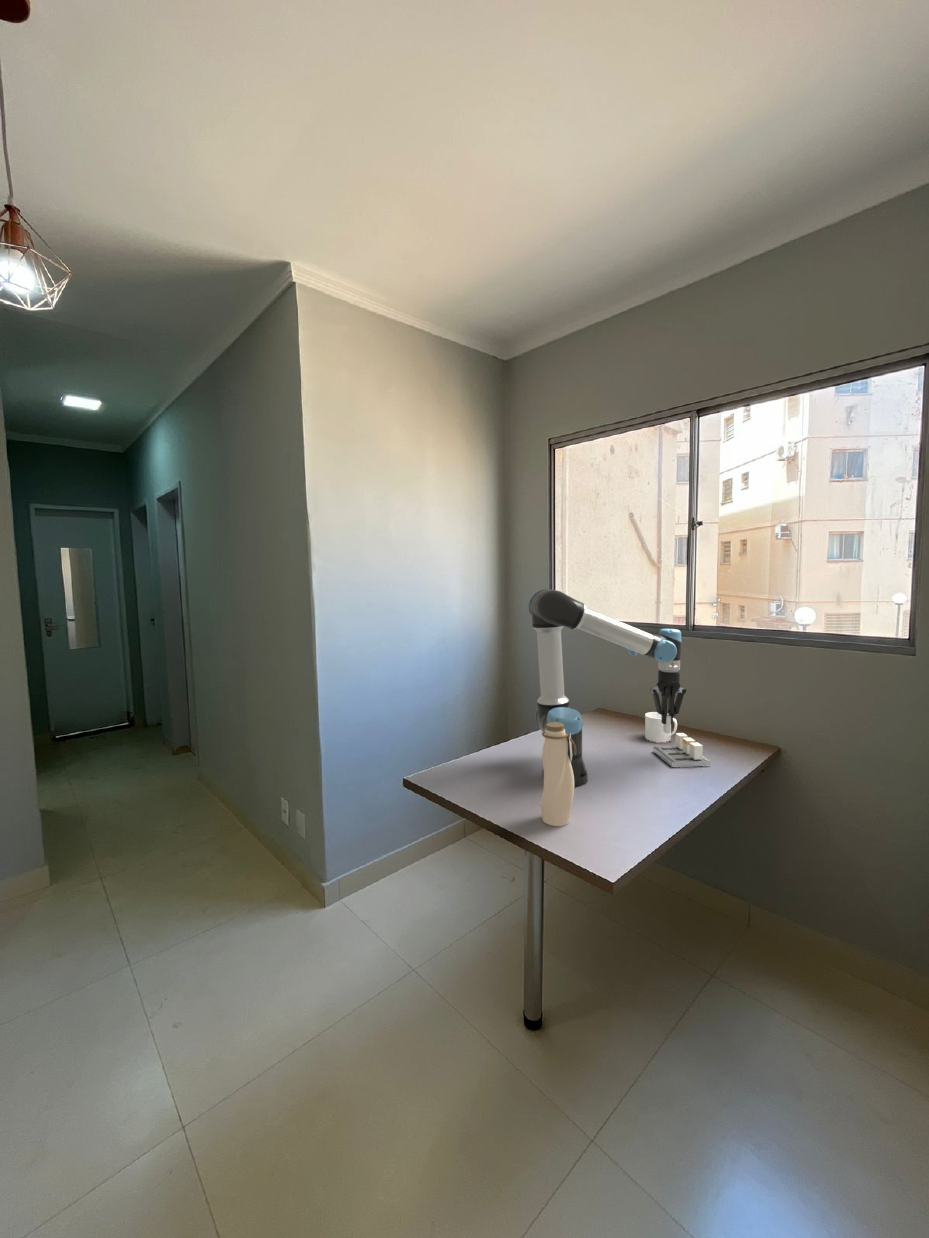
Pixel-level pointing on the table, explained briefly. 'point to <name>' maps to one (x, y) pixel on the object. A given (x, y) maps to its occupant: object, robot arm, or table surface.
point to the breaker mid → (687, 744)
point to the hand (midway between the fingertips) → (666, 732)
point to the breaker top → (679, 739)
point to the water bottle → (557, 775)
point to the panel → (678, 757)
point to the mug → (657, 728)
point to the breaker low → (696, 751)
